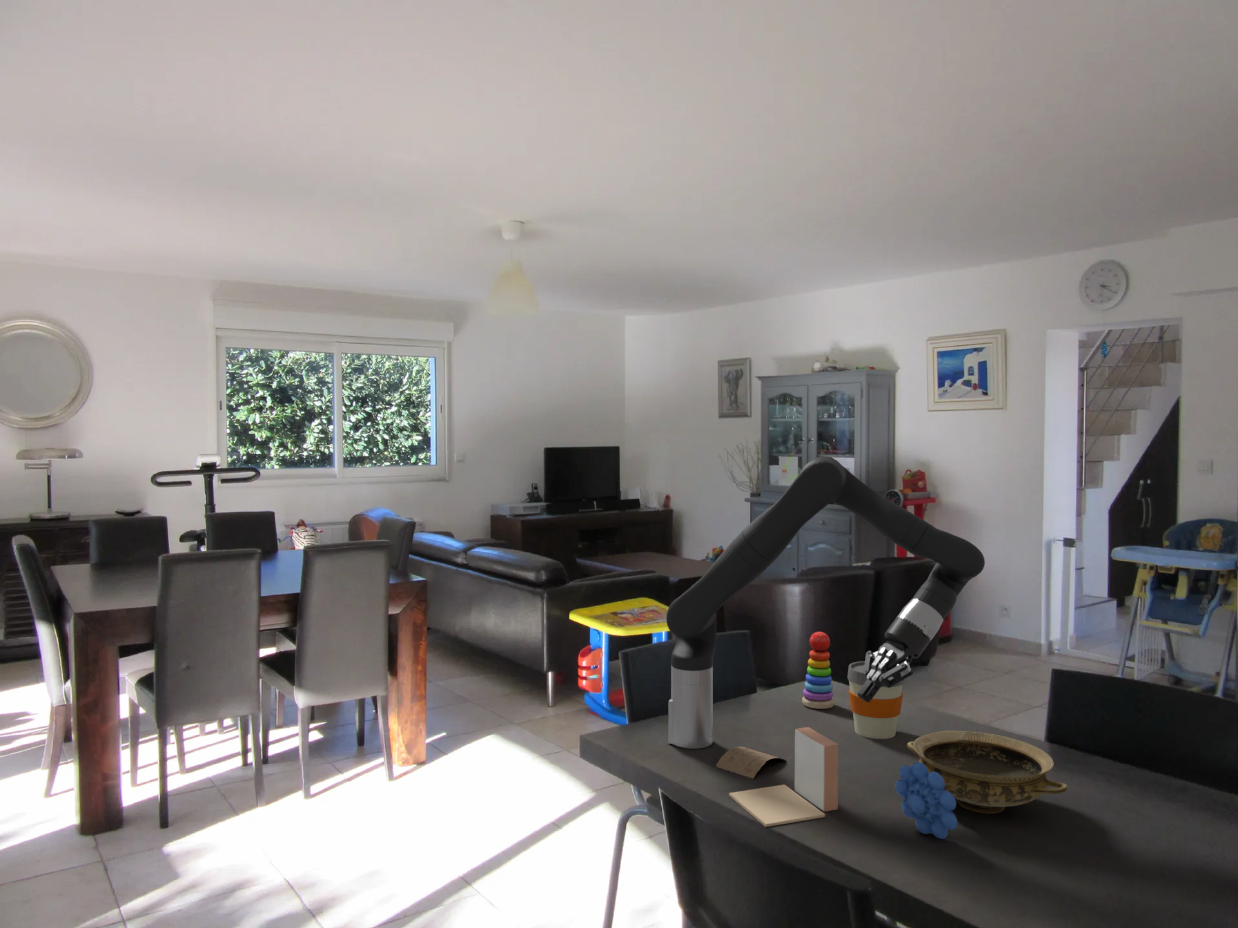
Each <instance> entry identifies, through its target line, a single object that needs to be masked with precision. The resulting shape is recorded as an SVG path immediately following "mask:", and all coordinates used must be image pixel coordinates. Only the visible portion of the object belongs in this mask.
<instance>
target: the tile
mask: <svg viewBox="0 0 1238 928" xmlns="http://www.w3.org/2000/svg"><path fill="white" fill-rule="evenodd" d="M838 781H839V744H838V743H837V742H834V741H833V740H831V739H829V738H828V737H826V736H824V735H822V734H821V733H819V732H818V731H816V730H814V729H813V728H811V727H809V726H807V727H806V726H805V727H800V728H795V729H794V792H795V793H797V794H798V795H800V796H801V797H802V798H804V799H805V800H806V801H808V802H809V803H811V804H812V805H813V806H815V807H816V808H817V809H818V808H819V810H820V811H821V810H822V812H823V813H824V812H825V813H826V812H830V811H831V812H832V811H837V810H838V807H839V806H838V803H839V801H838V799H839V797H838V794H839V793H838V790H839V785H838V784H839V782H838Z"/></svg>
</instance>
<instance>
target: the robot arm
mask: <svg viewBox="0 0 1238 928" xmlns="http://www.w3.org/2000/svg"><path fill="white" fill-rule="evenodd" d="M831 503H834V504H836V505H839V506H840V507H843V508H844V509H847V510H848V511H850V512H852V513H853V514H855V515H856V516H857V517H859V518H861V519H862V520H863V521H865V522H866V523H867V524H869V525H870V526H872V528H873V529H875V530H876V531H877V532H878V533H880V534H881V535H882V536H883V537H885V538H886V539H888V540H889V541H890V542H892V543H893V544H895V545H896V546H898V547H900V548H902V549H903V550H905V551H906V552H907V553H910V554H912V555H913V556H914V557H917V558H920V559H930V560H932V561H933V562H935V563H936V564H935V565H934V566H933V568H932V570H931V572H930V573H929V575H928V577H927V579H926V581H924V583H923V584H922V585H921V586H920V587H919V588H918V590H917V591H916V593H915V594H914V596H913V597H912V598H911V600H909V601H908V603H907V604H906V605H905V606H903V608H902V609H901V611H900V613H899V614H898V615H897V616H896V617H895V619H894V620H893V622H892V623H891V624H890V626H889V627H888V628H887V630H886V631H885V633H884V638H885V642H884V643H882V644H881V645H880V646H879V647H878V650H877V651H875V652H872V651H871V650H868V651H867V652H865V660H864V661H865V665H864V672H863V673H864V674H865V675H866V677H867V680H866V682H865V683H864V685H863V686H862V687H861V689H860V690H859V692H858V696H859V697H860V698H861V699H862V700H863V701H865V702H870V701H871V699H872V698H873V697H874V696H875V694H876V693H877V692H878V690H879V689H880V688H883V687H884V686H887V687H888V688H890V687H892V686H894V685H895V684H897V683H899V682H900V681H902V680H904V681H905V679H907V678H908V677H911V676H912V675H913V674H914V670H913V669H912V668H911V667H910V664H911V663H912V660H913V659H918V658H920V657H921V655H922V653H923V652H924V651H925V649H926V648H927V646H928V645H929V644H930V642H931V641H932V640H933V638H934V637H935V636H936V634H937V633H938V631H939V630H940V627H941V626H942V624H943V622H944V621H945V619H946V618H947V617H948V615H949V613H950V612H951V611H952V610H953V608H954V606H955V604H956V602H957V598H958V596H959V595H960V593H961V591H962V590H963V589H964V588H965V586H966V585H967V584H968V583H969V581H971V580H972V579H974V578H976V577H977V576H978V575H980V574H981V573H982V571H984V568H985V563H986V561H985V557H984V554H983V552H982V551H981V550H980V549H979V548H978V547H977V546H976V545H975V544H973V543H972V542H970V541H968V540H966V539H964V538H962V537H960V536H958V535H955V534H952V533H950V532H947V531H944V530H942V529H939V528H937V527H935V526H934V525H932V524H930V523H929V522H928V521H926V520H924V519H923V518H921V517H919V516H917V515H916V514H914V513H913V512H911V511H909V510H907V509H906V508H904V507H902V506H900V505H898V504H897V503H895V502H893V501H892V500H890V499H888V498H887V497H885V496H883V495H882V494H880V493H878V492H877V491H875V490H873V488H871V487H869V486H868V485H867V484H865V483H864V482H862V480H860V479H859V478H858V477H856V476H855V475H854V474H853V473H851V471H849V470H848V469H847V468H846V467H845V466H843V465H842V464H841V463H840V462H839V461H838V460H836V459H835V458H834V457H829V456H819V457H816V458H814V459H812V460H810V461H809V462H807V463H806V464H805V465H804V466H803V467H802V469H801V470H800V472H798V474H797V476H796V477H795V479H794V480H793V482H792V483H791V484H790V485H789V487H788V488H786V490H785V491H784V493H783V494H782V495H781V496H780V497H779V499H778V500H777V501H776V502H774V504H772V505H771V506H770V507H768V508H766V510H765V511H763V512H762V513H761V514H760V515H758V516H757V517H756V518H754V519H753V521H751V522H750V523H749V524H748V525H747V526H746V527H744V529H742V531H741V532H740V533H739V534H738V535H737V536H736V537H735V538H734V539H733V540H732V541H731V542H730V544H729V545H728V546H726V548H725V549H724V550H723V551H722V553H721V554H719V556H718V557H717V559H716V560H715V561H714V562H713V563H712V564H711V566H710V567H709V568H708V570H707V571H706V572H705V573H704V574H703V576H702V577H700V578H699V579H698V580H697V581H696V582H695V583H694V584H692V585H691V587H690V588H688V589H687V590H686V591H685V592H683V593H682V594H681V595H680V596H678V597H677V598H676V599H674V600H673V601H672V602H671V603H670V605H669V606H668V609H667V611H666V618H665V619H666V626H667V627H668V630H669V631H670V632H671V634H672V635H674V636H676V641H675V645H674V648H673V649H672V652H671V657H670V660H671V662H670V663H671V667H670V670H671V671H670V672H671V673H670V674H671V675H670V678H671V680H670V683H671V684H670V685H671V686H670V687H671V688H670V690H671V691H670V693H671V694H670V695H671V697H670V699H669V700H668V711H667V712H668V715H667V717H668V718H667V719H668V726H667V727H668V729H667V731H668V733H667V734H668V742H667V743H668V744H672V745H675V746H676V747H679V748H684V749H691V750H692V749H693V750H695V749H696V750H697V749H703V748H707V747H710V746H711V745H712V744H713V737H714V736H713V735H714V733H713V728H714V727H713V724H714V723H713V722H714V721H713V717H714V716H713V714H714V712H713V711H714V710H713V709H714V707H713V697H714V695H713V694H714V693H713V692H714V691H713V687H714V686H713V682H714V681H713V671H714V668H713V667H714V666H713V665H714V664H713V662H714V661H713V660H714V655H715V653H716V646H717V644H716V643H717V642H716V641H717V612H718V610H719V609H721V607H722V606H723V605H724V604H725V603H726V602H727V601H728V600H730V599H731V598H732V597H733V596H734V595H737V594H738V593H739V592H741V590H743V589H744V588H746V587H747V586H749V585H750V584H751V583H752V582H754V581H755V580H756V579H757V578H758V577H759V576H760V575H762V574H763V573H764V572H765V571H766V570H767V569H768V568H769V567H770V566H771V565H772V564H773V563H774V562H775V561H776V560H777V559H778V558H779V557H780V555H781V554H782V553H783V552H784V551H785V550H786V549H787V547H788V546H789V544H791V542H792V541H793V539H794V538H795V536H796V535H797V534H798V532H799V531H800V530H801V529H802V528H803V526H804V525H805V524H807V522H809V521H810V520H811V519H812V518H813V517H815V516H817V514H818V513H819V512H820V511H822V510H823V509H824V508H826V507H827V506H828V505H830V504H831Z"/></svg>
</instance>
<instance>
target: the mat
mask: <svg viewBox="0 0 1238 928" xmlns="http://www.w3.org/2000/svg"><path fill="white" fill-rule="evenodd" d="M728 797H730V798H731V799H732V800H733V801H734V802H736V803H737V804H738V805H740V807H742V808H743V809H744V810H745V811H747V813H749V815H751V816H752V817H754V818H755V819H756V820H757V821H758V822H759V823H760V824H761V825H763V827H766V828H768V827H774V826H779V825H784V824H785V825H786V824H791V823H797V822H802V821H809V820H814V819H815V820H816V819H820V818H825V817H826V814H825V813H824V811H821V809H820V808H819V809H818V807H817V806H816V805H814V804H813V803H811V802H810V801H809V800H807V799H806V798H805V797H803V796H802V795H800V794H799V793H798V792H796V791H795V790H792V789H791V787H788V786H787V785H786V784H778V785H773V786H766V787H760V788H753V789H746V790H740V791H735V792H729V793H728Z"/></svg>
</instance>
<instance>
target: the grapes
mask: <svg viewBox="0 0 1238 928" xmlns="http://www.w3.org/2000/svg"><path fill="white" fill-rule="evenodd" d="M898 774H899V777H900V779H898V780H897V781H896V782H895V784H894V788H895V792H896V794H897V795H898V796H899V797H900V798H902V799H903V801H901V805H900V807H901V811H902V812H903V814H904V815H905V816H906V817H907V818H909V819H914V824H915V826H916V829H917V830H918V831H919V832H920V833H921V834H924V835H929V834H931V833H932V834H933V836H935V838H938V839H941V840H943V839H945V838H946V837H948V836H949V835H948V833H949V830H955V829H956V828H957V826H958V818H957V816H956V814H955V813H954V812H953V811H954V810H955V809H956V807H957V799H956V798H954V796H953V795H952V794H951V793H950V792H949V791H946V790H944V791H942V790H943V789H944V786H945V783H944V780H943V778H942V776H941V775H940V774H939V773H937V772H930V773H929V772H928V769H927V767H926V766H925V765H924V764H923V763H921V762H919V761H914V763H913V764H912V765H911V766H909V765H908V764H903V765H902V766H901V767H899V770H898Z"/></svg>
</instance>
